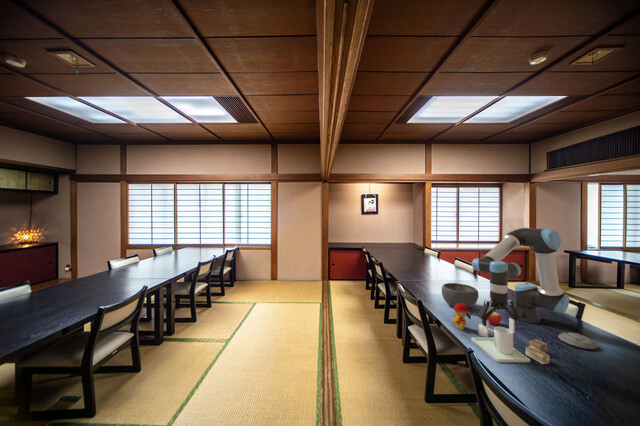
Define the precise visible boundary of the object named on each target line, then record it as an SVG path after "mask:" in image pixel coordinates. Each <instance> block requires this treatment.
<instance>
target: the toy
mask: <svg viewBox="0 0 640 426" xmlns="http://www.w3.org/2000/svg"><path fill="white" fill-rule="evenodd" d="M452 309H453V310H454V313H455V315H454V317H453V319H452V322H453V323H454V324H455V325H456V327H457V328H458V330H463V331H464V330H465V326H466V325H467V321H466V318H465V316H466V317H467V318H468V319H469V320H470V321H471V315H472V314H471V313H472V312H471V311H470V310H469V308H466V306H465V305H464V304H461V303H458V304H456V306H455V307H453V306H452Z"/></svg>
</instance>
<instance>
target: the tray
mask: <svg viewBox="0 0 640 426" xmlns="http://www.w3.org/2000/svg"><path fill="white" fill-rule="evenodd" d="M488 338H489V339H490V340H492V341H493V342H494V337H488ZM470 340H471V342H472V343H474V344H475V346H478V348H479V349H481V350H482V351H484V352H485V353H486V354H487V356H489V357H490V358H492V359H493V360H494V361H495V362H496V363H531V358H530V357H529V356H528V357H527V355H526V354H523V353H522V352H520V351H519V350H517V349H516V348H515V347H513V353H512V354H504V353H501V352H498V351H497V350H496V349H495V348H494V343H492V342H491V341H490V340H488V339H487V337H470Z"/></svg>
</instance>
